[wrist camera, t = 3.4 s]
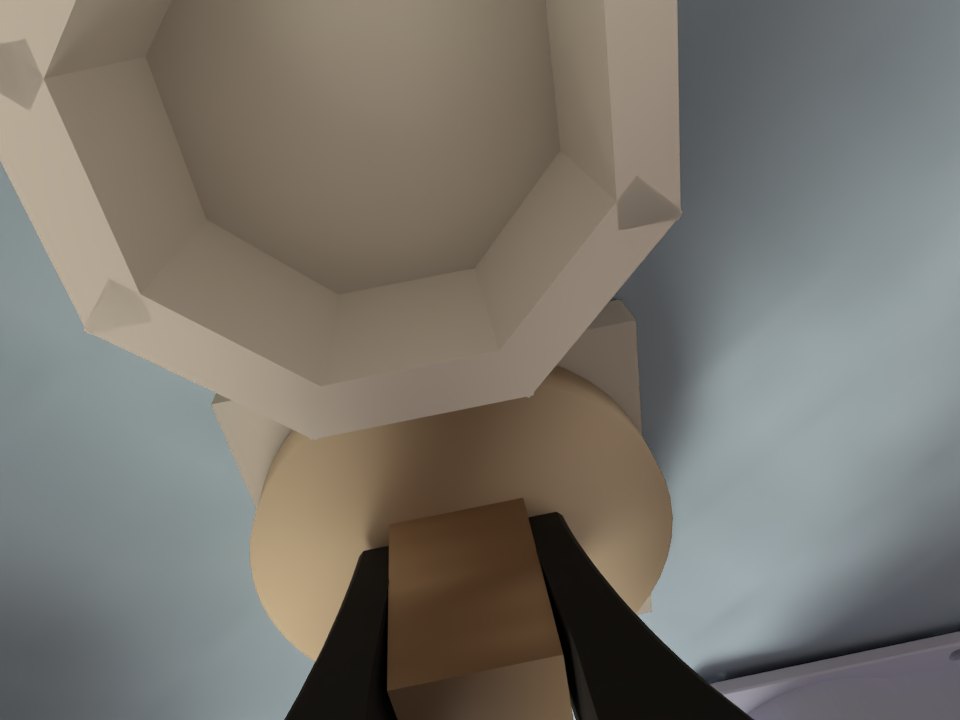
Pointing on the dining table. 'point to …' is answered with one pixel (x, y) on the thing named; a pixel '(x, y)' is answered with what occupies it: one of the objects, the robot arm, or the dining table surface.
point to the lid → (463, 540)
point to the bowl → (344, 187)
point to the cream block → (594, 357)
